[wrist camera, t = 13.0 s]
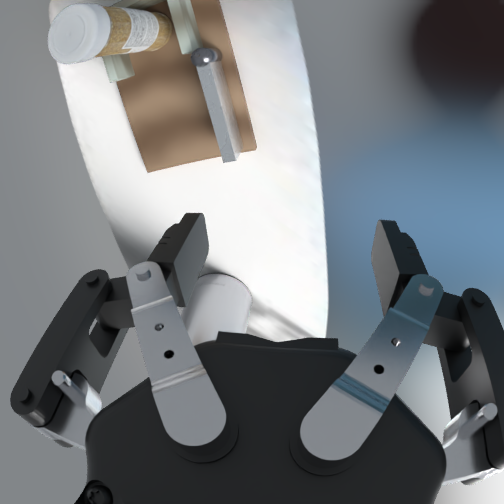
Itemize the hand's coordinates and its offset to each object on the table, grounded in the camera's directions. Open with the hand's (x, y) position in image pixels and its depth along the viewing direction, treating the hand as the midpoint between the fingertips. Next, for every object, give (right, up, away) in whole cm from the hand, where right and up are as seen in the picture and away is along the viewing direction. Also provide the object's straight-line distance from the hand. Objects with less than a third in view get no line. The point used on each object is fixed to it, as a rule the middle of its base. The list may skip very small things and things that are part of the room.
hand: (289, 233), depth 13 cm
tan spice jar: (-11, +21, +10) cm, 26 cm away
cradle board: (-10, +18, +14) cm, 24 cm away
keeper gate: (-4, +14, +14) cm, 20 cm away
